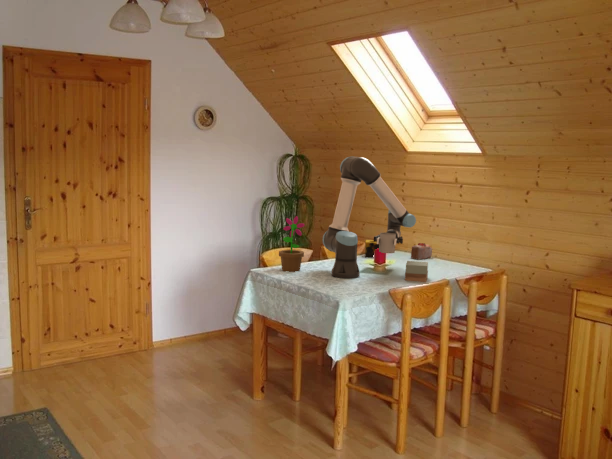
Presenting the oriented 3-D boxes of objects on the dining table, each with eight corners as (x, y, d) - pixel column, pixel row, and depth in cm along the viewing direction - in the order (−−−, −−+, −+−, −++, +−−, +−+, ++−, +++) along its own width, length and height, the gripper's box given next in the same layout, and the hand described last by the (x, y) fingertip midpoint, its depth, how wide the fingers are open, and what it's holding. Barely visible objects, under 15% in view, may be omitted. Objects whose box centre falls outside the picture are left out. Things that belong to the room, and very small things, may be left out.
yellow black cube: (380, 255, 407) (381, 240, 406) (381, 258, 397) (381, 242, 396) (365, 254, 408) (365, 239, 407) (364, 257, 398) (365, 241, 397)
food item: (422, 256, 409) (423, 241, 407) (432, 258, 403) (433, 242, 401) (409, 258, 399) (410, 243, 398) (419, 260, 394) (420, 244, 392)
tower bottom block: (425, 282, 332) (426, 274, 332) (404, 281, 335) (405, 272, 335) (427, 278, 343) (427, 270, 342) (407, 276, 346) (407, 268, 345)
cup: (382, 253, 336) (383, 234, 334) (376, 250, 344) (377, 232, 342) (397, 253, 338) (398, 234, 337) (391, 250, 346) (392, 232, 345)
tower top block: (426, 274, 332) (427, 265, 331) (405, 273, 334) (406, 264, 333) (427, 270, 342) (427, 262, 342) (406, 268, 345) (407, 260, 344)
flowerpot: (306, 268, 360) (307, 216, 355) (300, 273, 346) (301, 218, 342) (282, 266, 363) (283, 214, 359) (274, 271, 349) (275, 217, 345)
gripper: (409, 244, 355) (406, 250, 333) (372, 241, 360) (366, 247, 339) (410, 231, 354) (406, 236, 332) (373, 228, 359) (366, 233, 338)
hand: (386, 242), depth 336 cm, fingers closed on cup, 8 cm apart
